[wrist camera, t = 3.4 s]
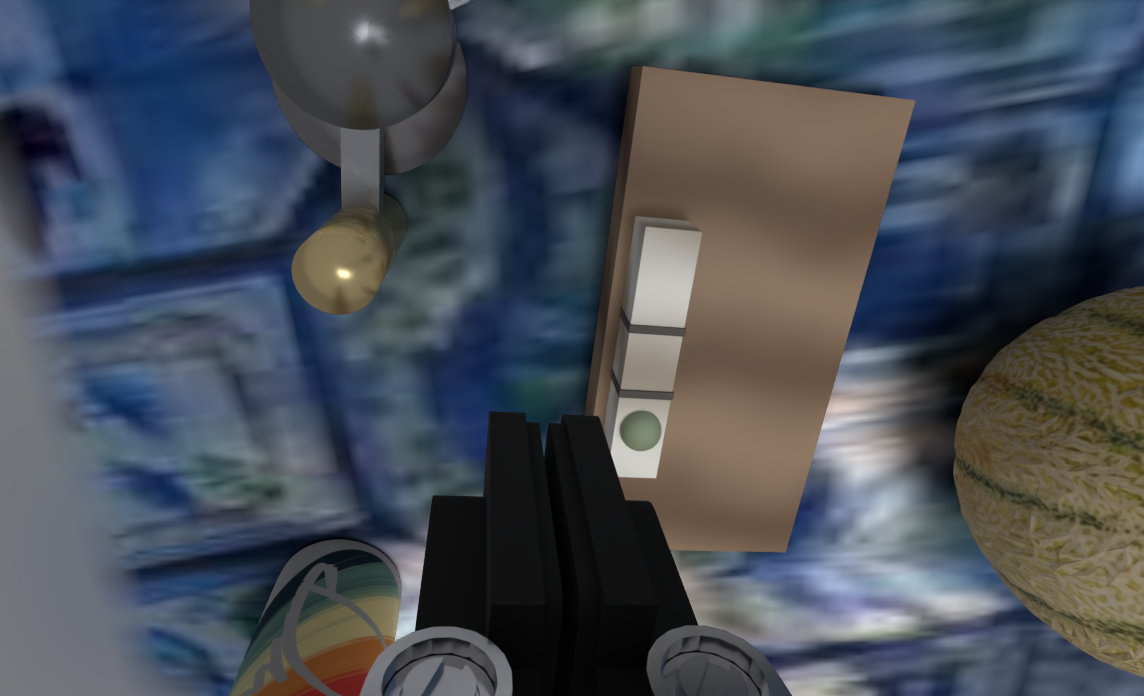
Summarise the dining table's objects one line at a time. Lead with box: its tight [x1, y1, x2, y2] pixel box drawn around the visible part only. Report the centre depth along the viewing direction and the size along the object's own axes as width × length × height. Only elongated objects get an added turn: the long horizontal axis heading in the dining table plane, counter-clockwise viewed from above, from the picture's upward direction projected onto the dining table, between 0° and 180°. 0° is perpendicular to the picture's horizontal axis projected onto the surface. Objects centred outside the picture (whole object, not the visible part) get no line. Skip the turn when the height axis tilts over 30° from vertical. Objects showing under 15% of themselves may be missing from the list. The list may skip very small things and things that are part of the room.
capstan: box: [250, 0, 477, 314], centre depth 20 cm, size 12×14×7 cm
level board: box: [584, 66, 916, 552], centre depth 27 cm, size 20×10×5 cm, turn 174°
